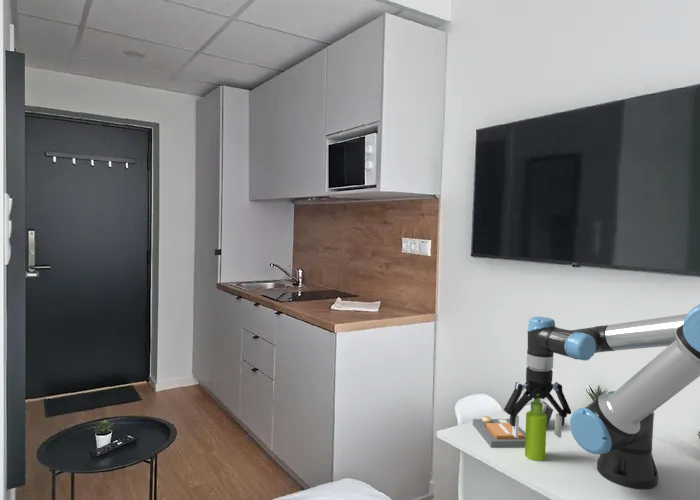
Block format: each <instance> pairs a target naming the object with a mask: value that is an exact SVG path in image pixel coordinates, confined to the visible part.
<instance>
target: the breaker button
mask: <svg viewBox="0 0 700 500" xmlns="http://www.w3.org/2000/svg"><path fill="white" fill-rule="evenodd" d="M486 429H487V430H488V431H489V432H490V433H491V434H492V436H493V437H494V438H495V439H524V435H523V434H522V433H521V432H520V431H519V430H518V438H515V437H514V436H513V435H512V425H511V424H510V423H486Z"/></svg>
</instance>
